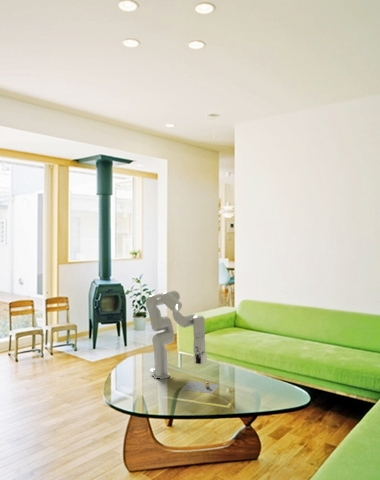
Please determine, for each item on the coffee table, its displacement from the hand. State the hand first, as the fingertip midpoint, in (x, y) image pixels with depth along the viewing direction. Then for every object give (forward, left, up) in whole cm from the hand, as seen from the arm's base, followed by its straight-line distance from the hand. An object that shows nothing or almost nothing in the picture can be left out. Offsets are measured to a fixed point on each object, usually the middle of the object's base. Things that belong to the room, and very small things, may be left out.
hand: (200, 361), depth 262 cm
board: (-1, 0, -18) cm, 19 cm away
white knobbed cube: (0, 0, -1) cm, 1 cm away
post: (+4, 0, -17) cm, 18 cm away
